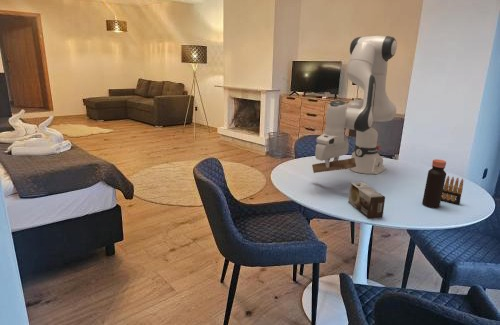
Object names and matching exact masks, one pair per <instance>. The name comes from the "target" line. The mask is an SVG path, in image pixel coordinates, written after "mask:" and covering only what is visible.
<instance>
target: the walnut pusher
mask: <svg viewBox="0 0 500 325" xmlns="http://www.w3.org/2000/svg"><path fill="white" fill-rule="evenodd" d="M329 162H330V164H331V167H329V168H327V167H326V163H325V162H319V163H315V164H312V165H311V167H312V172H313V173H314V174H315V173H322V172H323V173H324V172H330V171H331V172H332V171H340V170H341V171H342V170H350V168H353V167H356V163H355V158H351V157H350V158H345V159H338V161H332V160H330V161H329Z"/></svg>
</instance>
